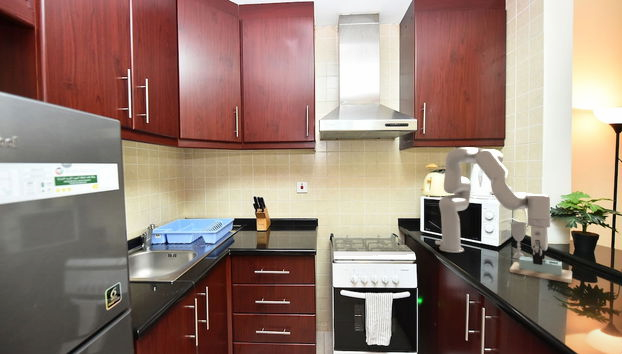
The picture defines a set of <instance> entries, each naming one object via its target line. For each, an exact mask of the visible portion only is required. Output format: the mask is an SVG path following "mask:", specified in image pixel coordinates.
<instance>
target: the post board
mask: <svg viewBox="0 0 622 354" xmlns="http://www.w3.org/2000/svg"><path fill="white" fill-rule="evenodd" d="M509 272H510V273H514V274H520V275H525V276H529V277H535V278H540V279H547V280H552V281H558V282H561V283H562V282H564V283H567V284H569V283H570V284H572V283H573V281H572V280H573V271H572V270H567V269H562V275H556V274H550V273H544V272H538V271H533V270H527V269H521V268H519V261H513V264H512V265H511V266H510V268H509Z"/></svg>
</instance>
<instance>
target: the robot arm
mask: <svg viewBox="0 0 622 354" xmlns="http://www.w3.org/2000/svg"><path fill="white" fill-rule="evenodd" d="M503 161H504V157H503V153H501V152H500V151H499V150H498V149H488V148H480V147H479V148H478V147H457V148H456V147H455V148H454V149H451V150H450V151H449V152H448V153H447V155H446V158H445V170H444V178H443V179H444V181H443V190H444V192H446V193H448V194H449V195H445V196H443V197H442V198H440V200H439V202H438V207H439V211H440V216H441V218H440V219H441V240H435V242H434V243H435V245H439V250H440V251H442V252H446V253H458V254H459V253H462V252H465V249H464V248H463V247H462V246H461V244H462V243H461V222H460V221H461V219H460V215H459V214H458V212H460V211H465V210H466V209H468V207H469V205H470V198H471V190H472V188H471V187H472V185H471V182H470V179H468V178H467V177H465V176H462V173H463V167H462V166H461V164H477V166H478V167H479V168H480V169H481V171H482V172H483V173H484V175H486V177H487V178H488V179H489V181H490V186H491V190H492V194H493V195H494V197H495V199H497V201H498V203H499V204H500V205H501V206H503V207H504V208H505V209H506V210H510V211H517V210H524V209H527V226H528V227H530V241H531V242H530V243H531V249H532V250H533V251H532V258H533V264H538V265H542V264H543V259H544V260H546V258H545V257H546V256H545V253H546V251H547V250H548V247H549V246H548V245H549V244H548V243H549V242H548V229H549V228H551V200H550V196H549V195H548V194H543V193H541V194H540V193H539V194H538V193H528V192H513V191H512V190H511V188H510V187H509V185H508V183H507V181H506V178H507V176H508V175H509V171H508V169H507V168H506V167H505V165H503ZM451 194H452V195H451Z"/></svg>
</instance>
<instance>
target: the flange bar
mask: <svg viewBox="0 0 622 354" xmlns="http://www.w3.org/2000/svg"><path fill="white" fill-rule="evenodd" d="M518 262H519V268H521V269H527V270H533V271H538V272H544V273H550V274H556V275H562V270H563V262H562V261H556V260H549V259H543V264H542V265H538V264H533V257H529V256H525V255H524V256H521V257H520V259H518Z"/></svg>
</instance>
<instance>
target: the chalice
mask: <svg viewBox="0 0 622 354" xmlns="http://www.w3.org/2000/svg"><path fill="white" fill-rule="evenodd" d="M509 224H510V233H511V235H512V237H513V238H514V240H515V241H517V242H516V246H517V247H516V249H517V252H515V253H514V255H513V257H512V258H513V259H517V260H519V259H520V257H521V256H524V257H525V255H524V254H523V253H522V252H521V250H522V248H521V241H523V239H524V238H525V236H526V234H527V231H526V230H527V225H528V222H525V221H524V222H522V221H510V222H509Z"/></svg>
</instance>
